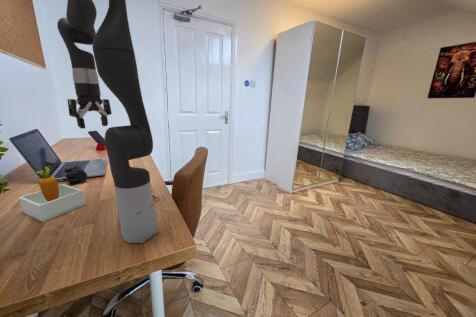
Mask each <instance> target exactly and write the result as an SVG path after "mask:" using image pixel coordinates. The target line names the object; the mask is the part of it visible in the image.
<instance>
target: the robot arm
mask: <svg viewBox="0 0 476 317" xmlns="http://www.w3.org/2000/svg"><path fill="white" fill-rule="evenodd" d="M66 4H67V5H66V15H65V16H66V17H61V18H58V21H57V30H58V33H59V35H60V36H61V38H62V41H63V42H64V45H65V47H66V49H67V52H68V56H69V60H70V62H71V69H72V70H71V71H72V81H73V84H74V85H73V86H74V89H75V95H76V97H77V98H76V99H74V98H68V99H67V106H68V115H69V117H72V118H75V119H76V122H77V126H78V127H79V129H83V130H84V129H86V124H85V119H84V116H85V114H87V113H88V112H93V111H94V112H97V113H98V114H99V115H100V121H101V126H102V127H107V126H108V124H109V122H108V116H110V115H112V108H111V104H110V100H109V99H108V98H107V99H106V98H103V99H101V89H100V81H99V77H100V79H101V80H102V82H103V83H104V85H105V86H106V87H107V88H108V89H109V91H110V92H111V93H112V94H113V95H114V96H115V98H117V100H118V101H119V102H120V103H121V105H122V106H123V109H124V110H125V111H126V115H127V118H128V120H129V125H120V126H119V125H118V126H112V127H108V128H107V129H106V131H105V133H104V143H105V150H106V153H107V154H106V155H107V158H108V163H109V168H110V172H111V176H112V178H113V179H112V180H113V183H114V184H113V185H114V191H115V198H116V204H117V210H118V218H119V223H120V230H121V236H122V237H121V238H122V240H123V241H124V242H125V243H128V244H137V243H139V244H144V243H145V242H147V241H148V240H149V239H150V238H152V237H154V236H155V235H156V234H157V233H158V232H159V230H158V220H157V210H156V205H155V204H154V205H153V197H152V195H153V194H152V192H151V191H152V186H151V185H152V184H151V175H150V171H149V170H148V169H145V168H143V167H132V166H131V165H130V160H135V159H136V160H137V159H140V158H145V157H148V156H150V155H151V154H152V152H153V150H154V139H153V135H152V131H151V127H150V123H149V119H148V116H147V112H146V107H145V104H144V101H143V96H142V90H141V84H140V79H139V72H138V65H137V59H136V55H135V54H136V53H135V49H134V45H133V39H132V35H131V34H132V33H131V29H130V25H129V18H128V11H127V0H108V8H107V11H106V14H105V16H104V18H103V21H102V22H101V25H100V26H99V28H98V30H96V29H95V23H96V21H97V20H96V19H97V13H98V12H97V8H96V7H97V6H96V4H95V3H94V1H93V0H67V3H66ZM76 44H82V45H87V46H91V45H92V52H93V53H92V52H90V51H87V50H83V49H81V48H79V47H78V46H77V45H76ZM98 76H99V77H98ZM77 106H79V107H78V109H77Z"/></svg>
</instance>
